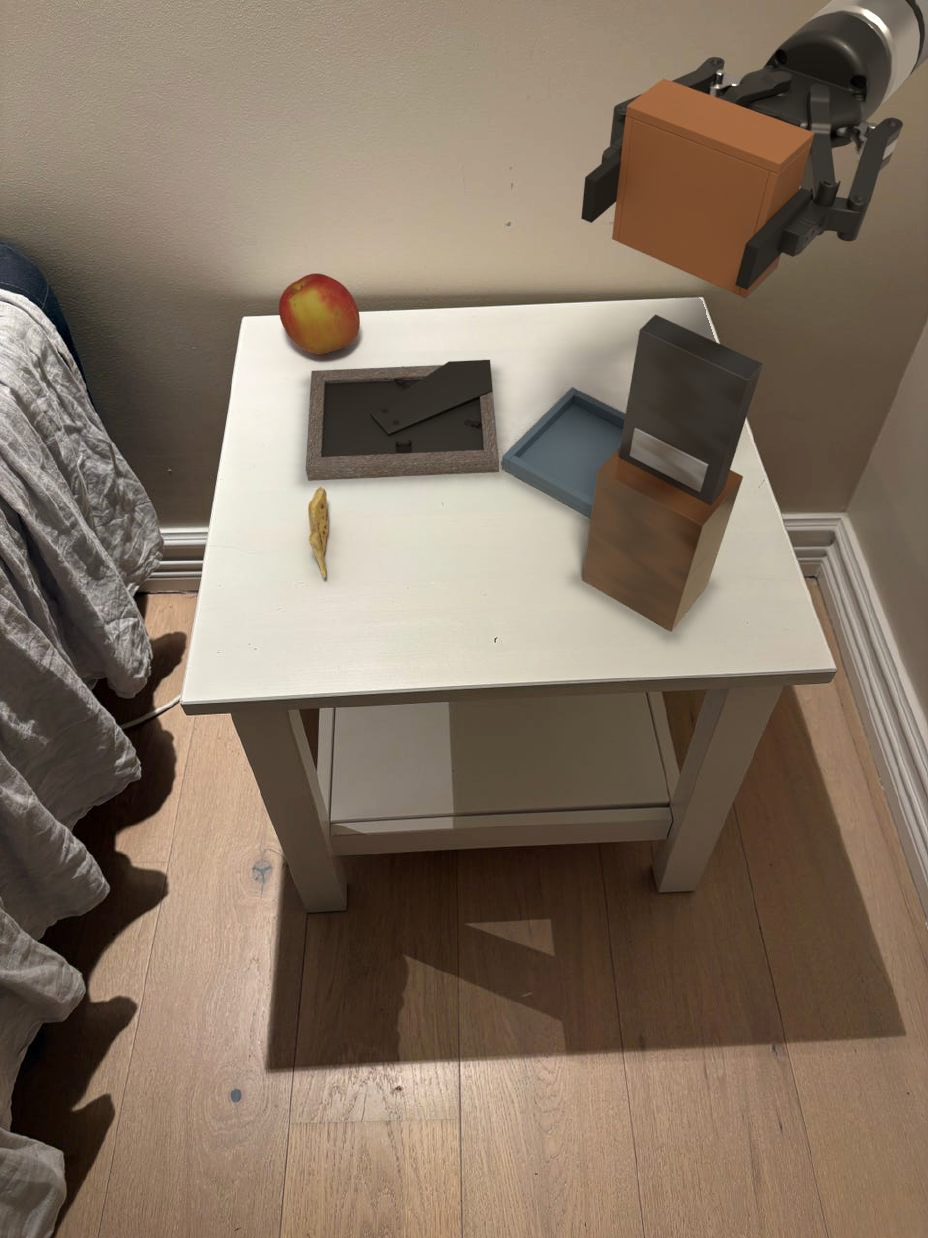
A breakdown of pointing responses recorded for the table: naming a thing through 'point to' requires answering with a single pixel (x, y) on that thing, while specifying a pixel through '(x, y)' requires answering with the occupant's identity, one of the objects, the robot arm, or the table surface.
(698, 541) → the wooden block with slab
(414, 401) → the picture frame
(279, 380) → the table surface
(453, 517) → the table surface
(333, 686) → the table surface
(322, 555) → the pastry
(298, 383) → the table surface
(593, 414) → the tray
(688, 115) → the orange brown block
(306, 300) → the apple
